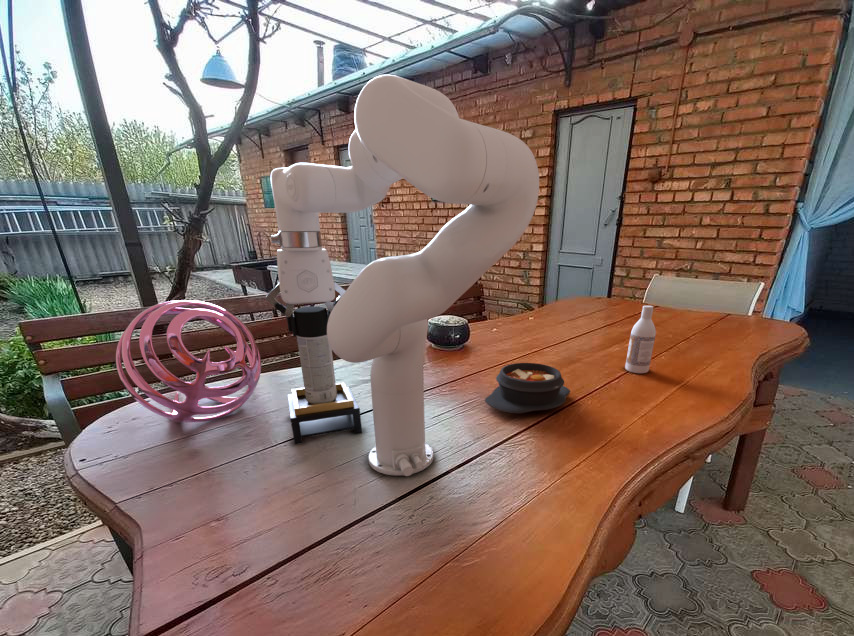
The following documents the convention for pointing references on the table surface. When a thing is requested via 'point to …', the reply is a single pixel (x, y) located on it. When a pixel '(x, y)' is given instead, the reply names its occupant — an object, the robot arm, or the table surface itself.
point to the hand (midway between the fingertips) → (313, 332)
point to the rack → (323, 414)
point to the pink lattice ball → (190, 362)
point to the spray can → (315, 354)
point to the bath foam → (641, 343)
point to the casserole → (528, 388)
